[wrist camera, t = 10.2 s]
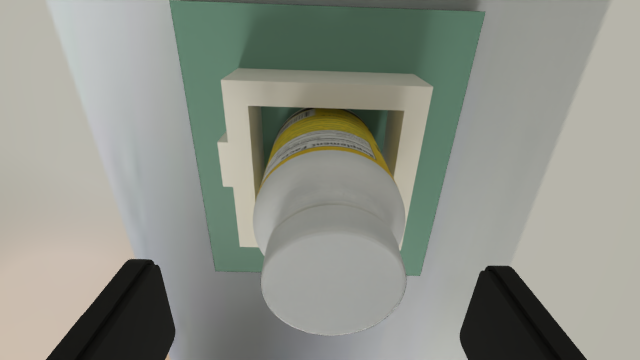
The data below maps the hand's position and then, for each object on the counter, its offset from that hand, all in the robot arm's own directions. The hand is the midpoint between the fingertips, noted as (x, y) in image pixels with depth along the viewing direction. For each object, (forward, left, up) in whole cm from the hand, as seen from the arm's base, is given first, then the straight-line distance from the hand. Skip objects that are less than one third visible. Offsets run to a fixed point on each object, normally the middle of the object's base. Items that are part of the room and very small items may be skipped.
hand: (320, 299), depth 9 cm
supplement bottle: (+1, 0, -10) cm, 9 cm away
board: (0, 0, -11) cm, 11 cm away
